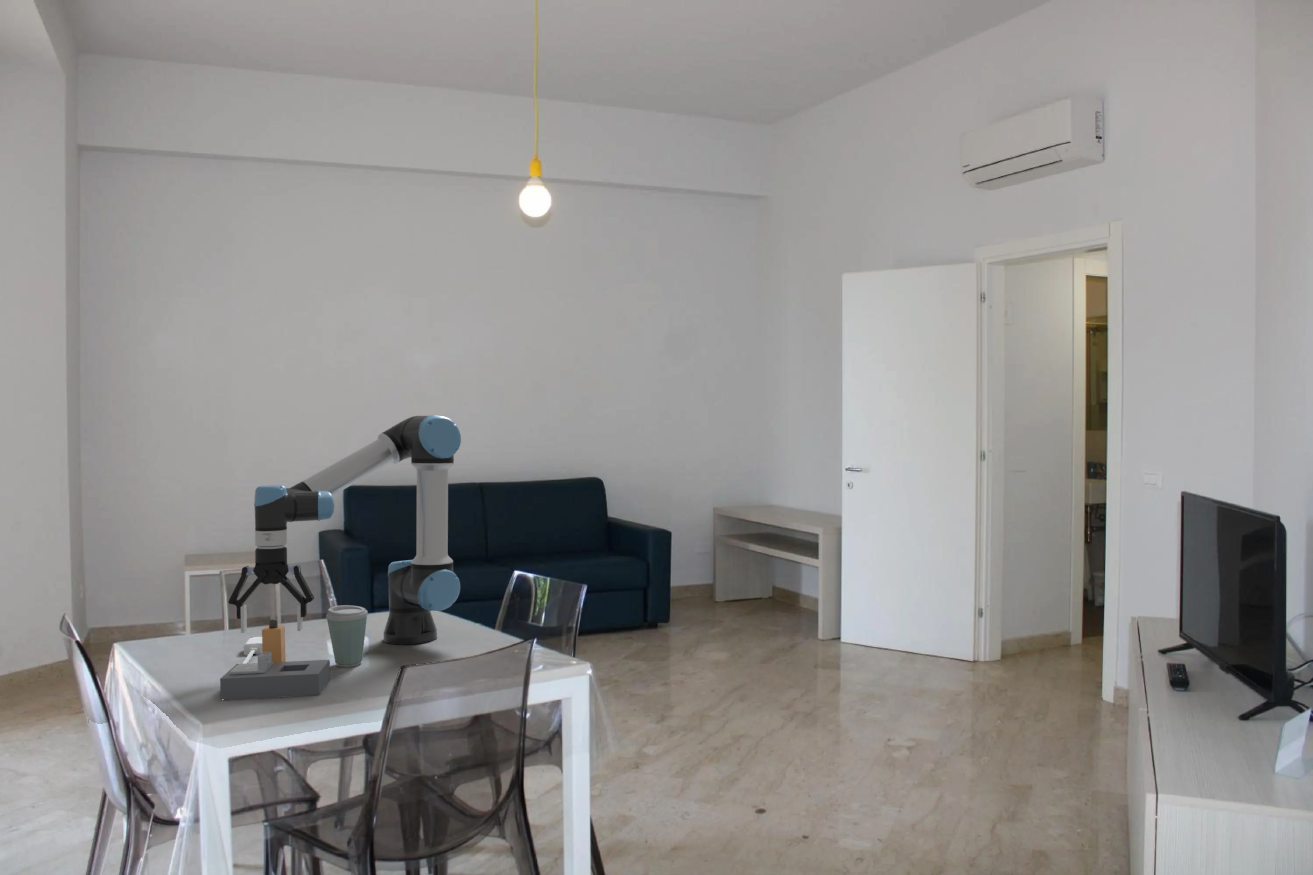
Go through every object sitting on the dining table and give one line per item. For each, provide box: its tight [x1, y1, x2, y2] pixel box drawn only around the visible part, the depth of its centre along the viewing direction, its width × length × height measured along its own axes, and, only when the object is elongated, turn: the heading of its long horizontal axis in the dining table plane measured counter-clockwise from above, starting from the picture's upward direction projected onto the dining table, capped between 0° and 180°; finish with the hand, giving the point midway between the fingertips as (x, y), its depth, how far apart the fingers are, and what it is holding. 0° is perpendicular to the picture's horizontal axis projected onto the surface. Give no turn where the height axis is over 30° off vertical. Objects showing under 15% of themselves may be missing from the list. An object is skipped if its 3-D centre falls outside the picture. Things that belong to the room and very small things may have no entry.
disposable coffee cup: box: [325, 604, 368, 668], centre depth 270 cm, size 11×11×15 cm
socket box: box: [219, 659, 331, 701], centre depth 247 cm, size 22×14×5 cm, turn 98°
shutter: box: [230, 651, 273, 675], centre depth 246 cm, size 8×8×4 cm
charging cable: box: [241, 636, 263, 664], centre depth 278 cm, size 5×32×3 cm, turn 12°
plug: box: [261, 618, 287, 662], centre depth 261 cm, size 4×4×14 cm
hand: (272, 630), depth 260 cm, fingers open, 13 cm apart
